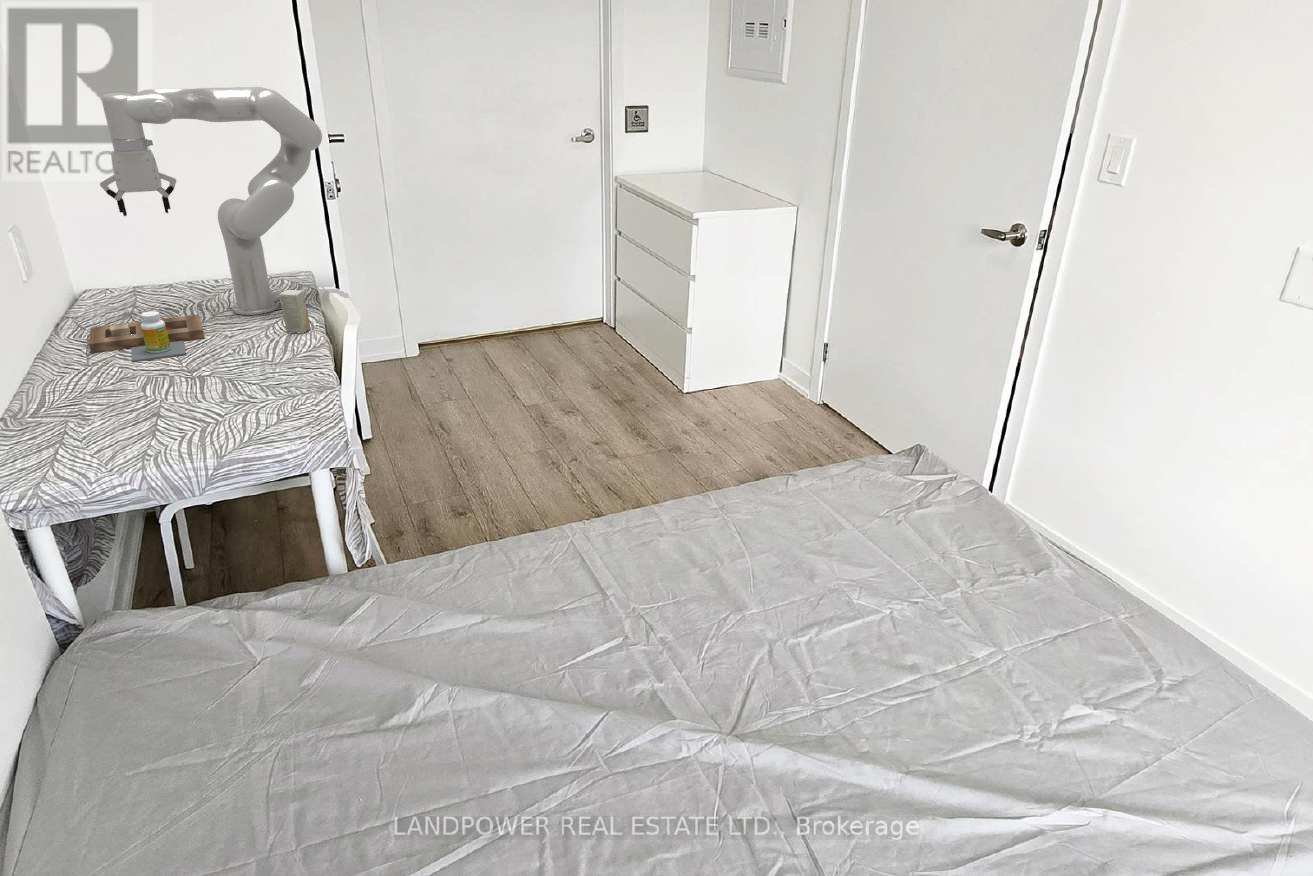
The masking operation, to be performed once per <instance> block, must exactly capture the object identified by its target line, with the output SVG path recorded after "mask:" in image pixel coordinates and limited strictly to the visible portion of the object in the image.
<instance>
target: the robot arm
mask: <svg viewBox="0 0 1313 876" xmlns="http://www.w3.org/2000/svg"><path fill="white" fill-rule="evenodd" d="M101 104H102V107H103V112H104V116H105V120H106V124H107V127H108V133H109V134H110V135H109V136H110V140H111V143H112V144H111V145H112V149H113V150H112V151H110V155H111V158H110V159H111V166H112V171H113V174H112V175H111V176H110V177H107V178H106V179H104V180H102V181H101V182H100V183H99V186H100V187H101V189H103V190H104V191H105V193H106V194H107V195H108V196H110V197H111V198H113V199H114V200H115V201H116V203H117V207H118V211H119V213H121V214H123V217H127V216H128V213H127V208H126V205H125V201H124V199H123V196H124V195H125V193H140V192H142V193H145V192H155V191H156V192H157V193H159V194H160V195H161V198H162V199H161V200H162V204H163V208H164V212H165V214H169V210H171V209H172V208H171V205H170V204H171V203H170V201H169V197H170V195H171V194H172V193H173V191H174V190H175V187H176V184H177V179H176V178H175V177H173V176H170V175H167V174H166V173H163V172H160V171H159V168H158V164H157V160H156V159H155V156H154V153H153V151H152V150H151V149H148V148H149V147H150V146H154V143H153V140H152V139H148V138H146V135H145V131H144V127H143V124H152V125H153V124H154V125H164V124H167V123H169V122H171V121H172V120H198V121H204V122H207V123H208V122H209V123H229V122H231V123H232V122H233V123H234V122H254V121H263V122H265V123H266V124H267V125H269V126H270V127H271V128H272V129H273V130H274V131H276V132H277V133H279V137H280V148H279V151H278V153H277V154H276V155H275V156H274V157H273V159H272V160H270V162H269V163H268V164H267V165H265V167H264V168H263V169H261V170H260V171H259V172H258V173H256V175H254V177H253V178H252V179H250V181H249V183H248V186H247V192H248V195H249V196H248V198H246V199H245V200H244V199H241V198H234V197H233V198H228V199H226V200H224V201H223V202H222V203H221V204H220V206H219V207H218V210H217V222H218V225H219V229H220V232H221V235H222V240H223V241H224V246H225V251H226V255H227V261H228V267H229V271H230V275H231V281H232V286H233V290H234V291H233V292H234V295H235V296H234V297H235V301H236V302H235V303H234V304H233V305H232V306H231V311H232V312H233V313H234V314H237V315H243V316H255V315H263V313H264V314H268V313H272V312H273V311H276V310H277V309H278V308H279V307H280V304H279V301H280V296H279V294H281V293H282V292H278V293H274V292H272V290H271V286H270V282H269V281H270V280H269V277H268V276H269V275H268V270H267V266H266V265H267V264H266V259H265V252H264V247H263V243H262V240H261V239H262V238H261V237H262V236H264V235H265V234H266V233H267V232H269V230H270V229H271V228H272V227H273V226H274V225H275V224H276V223H277V222H278V221H279V220H281V219H282V218H283V217H284V215H286V214H287V212H288V211H290V209H291V207H292V206H293V204H294V199H295V193H294V189H293V188H294V187H295V186H296V185H297V183H298V182H300V180H301V179H302V178H303V177H304V175H305V174H306V172H308V170H309V166H310V164H311V159H312V158H311V156H312V151H314V150H316V149H318V148H319V147H320V145H321V143H322V140H323V134H322V130H321V129H320V126H319V125H318V123H316V122H315V121H314V120H313V119H312V118H310V116H308V115H306V114H305V113H304V112H303V111H302V110H301V109H299V108H298V107H296V106H295V105H294V104H292V103H291V102H290V100H288V99H287V98H285V96H283V95H281V94H280V93H279V92H277V91H276V90H273V89H271V88H267V87H261V86H243V87H240V86H239V87H238V86H237V87H234V86H233V87H200V88H199V87H198V88H162V89H161V88H160V89H158V88H155V89H153V88H152V89H151V88H150V89H143V90H140V91H139V92H137V93H136V94H131V93H126V92H111V93H110V92H109V93H106V94H103V95H102V97H101ZM162 180H164V181H166V182H168V187H166V189H165V188H164V187H162ZM114 182H115V185H116V187H117V192H115V191H114V190H113V189H111V188H110V187H109V186H110V185H111V184H113V183H114ZM280 302H281V301H280ZM267 312H268V313H267Z"/></svg>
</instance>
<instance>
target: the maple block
mask: <svg viewBox="0 0 1313 876" xmlns="http://www.w3.org/2000/svg"><path fill="white" fill-rule="evenodd" d="M119 324H120V325H115V324H110V325H111V327H110V331H111V334H112V337H116V336H124V335H131V333H130V329H129V325H128V324H124V323H119Z"/></svg>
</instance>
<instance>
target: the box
mask: <svg viewBox="0 0 1313 876" xmlns="http://www.w3.org/2000/svg"><path fill="white" fill-rule="evenodd" d="M280 293H281V294H279V296H280V304H281V310H282V314H283V319H284V324H285V330H286V333H287V332H300V333H299V334H305V333H306V331H307V330H308V331H309V330H310V328H311V323H310V319H309V314H308V309H307V303H306V297H305V292H304V290H297V289H296V290H295V289H294V290H293V289H286V290H284V291H282V292H280ZM308 331H307V332H308ZM304 332H305V333H304Z"/></svg>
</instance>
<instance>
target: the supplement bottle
mask: <svg viewBox="0 0 1313 876" xmlns="http://www.w3.org/2000/svg"><path fill="white" fill-rule="evenodd" d="M140 317H141V321H144V322H142V323H141V329H142V333H143V337H144V341H145V345H146V349H147V351H148V352H149V353H162V352H166V351H168V350H169V349H170V348H171V347H170V342H169V338H168V334H167V330H166V326H165V323H164V321H163V320H160V319H161V316H160V312H159V311H156V310H155V311H154V310H153V311H146V312H145V311H144V312H143V313H141V314H140Z"/></svg>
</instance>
